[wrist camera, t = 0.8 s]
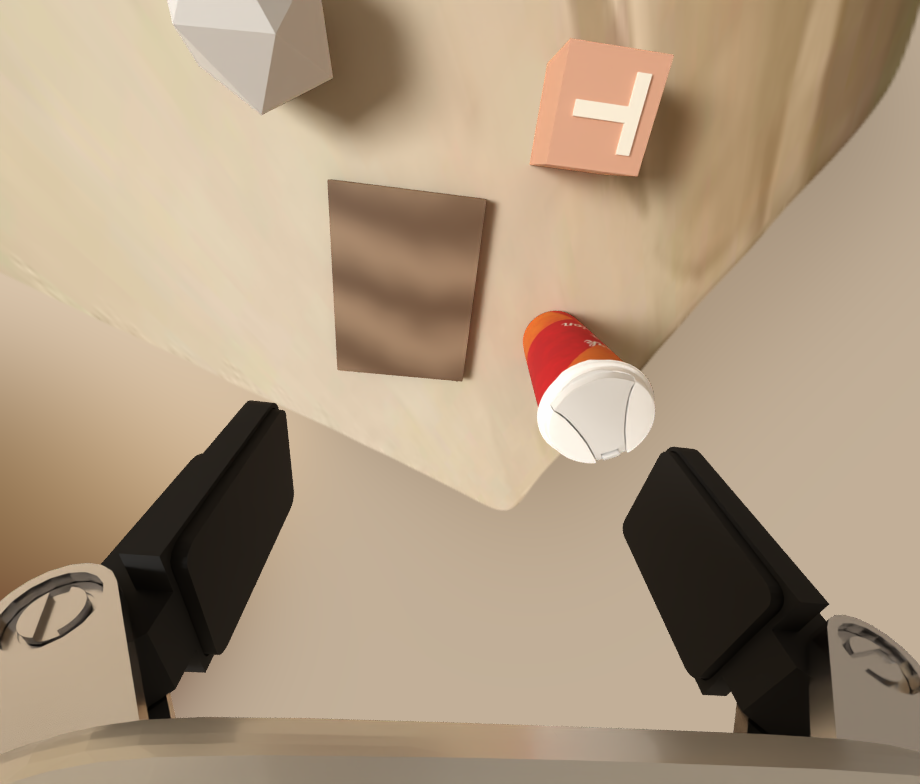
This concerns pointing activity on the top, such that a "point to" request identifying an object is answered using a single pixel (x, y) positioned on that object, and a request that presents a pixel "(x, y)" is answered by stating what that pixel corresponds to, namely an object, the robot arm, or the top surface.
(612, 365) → the paper cup
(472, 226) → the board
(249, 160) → the top surface
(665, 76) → the lettered cube
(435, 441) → the top surface
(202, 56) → the die
